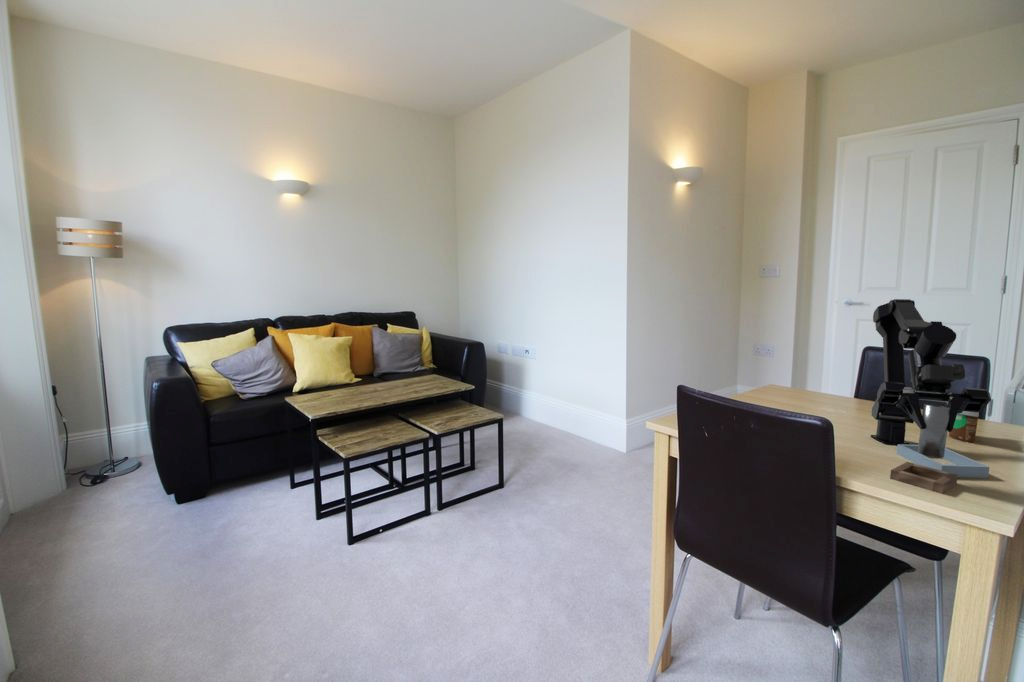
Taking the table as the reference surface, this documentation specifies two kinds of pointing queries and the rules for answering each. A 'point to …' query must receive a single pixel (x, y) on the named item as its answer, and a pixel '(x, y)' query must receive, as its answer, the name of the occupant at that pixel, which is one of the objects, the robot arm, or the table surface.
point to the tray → (963, 464)
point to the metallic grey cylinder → (934, 429)
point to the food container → (965, 427)
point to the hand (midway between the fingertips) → (936, 429)
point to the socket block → (924, 477)
